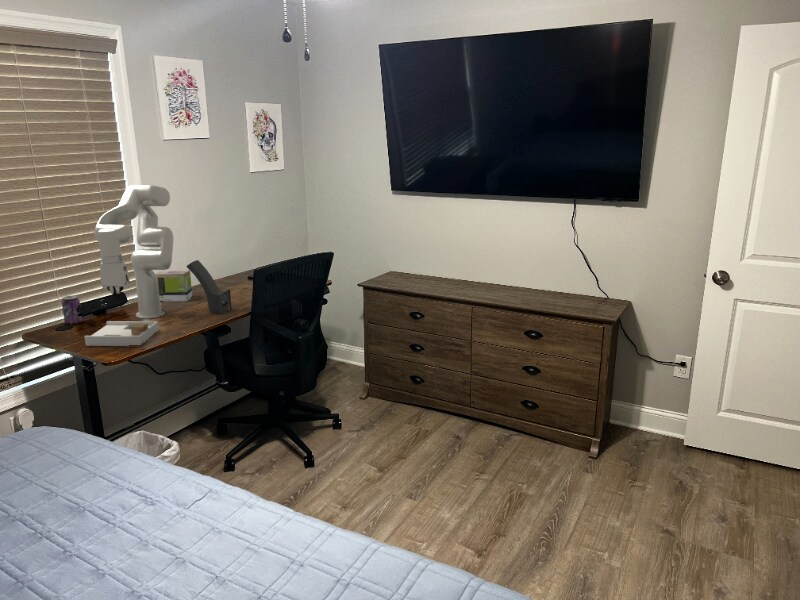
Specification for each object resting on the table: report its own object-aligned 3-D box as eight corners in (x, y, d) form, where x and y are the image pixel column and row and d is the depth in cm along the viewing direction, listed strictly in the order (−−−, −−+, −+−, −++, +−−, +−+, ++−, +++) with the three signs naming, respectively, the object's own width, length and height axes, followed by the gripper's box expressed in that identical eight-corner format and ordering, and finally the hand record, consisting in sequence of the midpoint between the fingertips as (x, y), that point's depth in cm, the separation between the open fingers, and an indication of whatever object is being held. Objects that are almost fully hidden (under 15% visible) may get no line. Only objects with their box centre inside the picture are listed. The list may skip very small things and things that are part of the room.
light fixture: (199, 306, 300) (195, 258, 293) (232, 308, 297) (228, 260, 291) (188, 312, 290) (184, 263, 283) (222, 314, 287) (218, 265, 280)
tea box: (192, 296, 318) (190, 269, 313) (187, 302, 308) (184, 273, 304) (164, 296, 317) (161, 269, 313) (157, 302, 307) (154, 273, 303)
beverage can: (62, 322, 273) (58, 297, 270) (78, 319, 278) (75, 294, 275) (68, 326, 269) (64, 300, 265) (85, 322, 274) (81, 297, 271)
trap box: (108, 329, 264) (107, 321, 263) (158, 330, 264) (157, 321, 263) (85, 345, 245) (84, 336, 244) (140, 346, 245) (139, 336, 244)
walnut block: (136, 330, 255) (135, 323, 255) (148, 331, 255) (147, 323, 255) (131, 334, 251) (130, 326, 250) (143, 335, 251) (142, 327, 250)
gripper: (133, 256, 249) (139, 299, 255) (97, 256, 249) (104, 298, 255) (126, 261, 242) (132, 304, 248) (88, 261, 242) (95, 304, 248)
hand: (117, 301), depth 251 cm, fingers closed
